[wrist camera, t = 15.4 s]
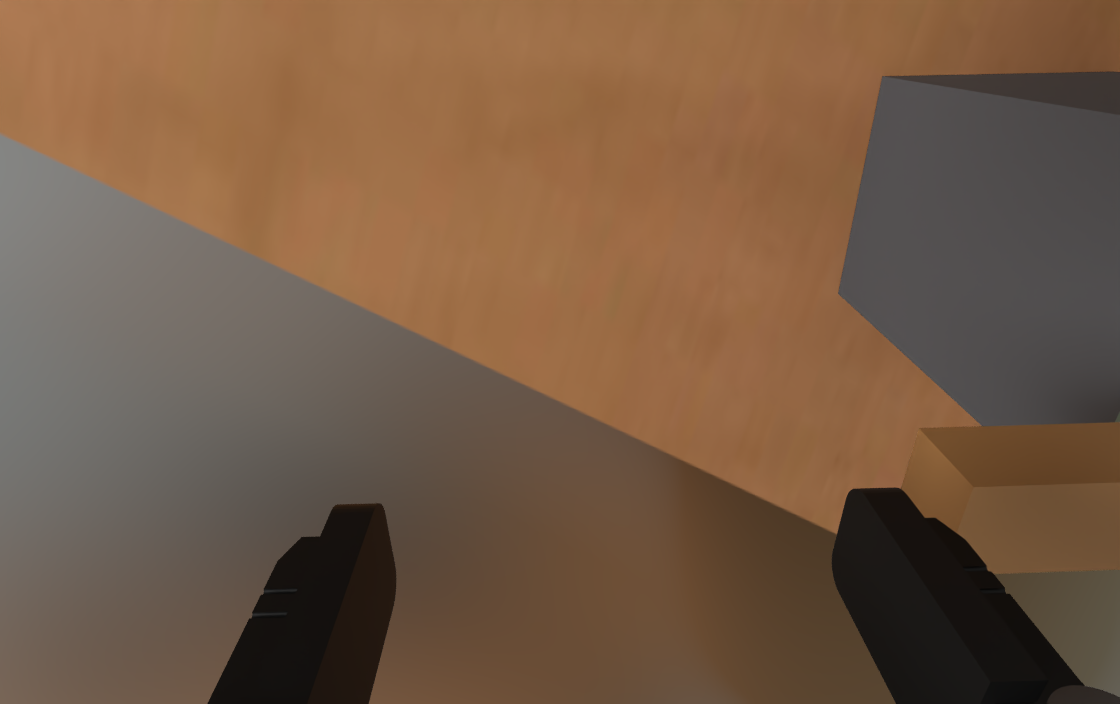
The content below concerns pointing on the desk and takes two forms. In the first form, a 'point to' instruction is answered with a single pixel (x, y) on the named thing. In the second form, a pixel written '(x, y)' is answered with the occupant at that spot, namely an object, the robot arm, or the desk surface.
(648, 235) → the desk surface
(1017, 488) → the lever bar
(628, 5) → the desk surface
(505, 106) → the desk surface
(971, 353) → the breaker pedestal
